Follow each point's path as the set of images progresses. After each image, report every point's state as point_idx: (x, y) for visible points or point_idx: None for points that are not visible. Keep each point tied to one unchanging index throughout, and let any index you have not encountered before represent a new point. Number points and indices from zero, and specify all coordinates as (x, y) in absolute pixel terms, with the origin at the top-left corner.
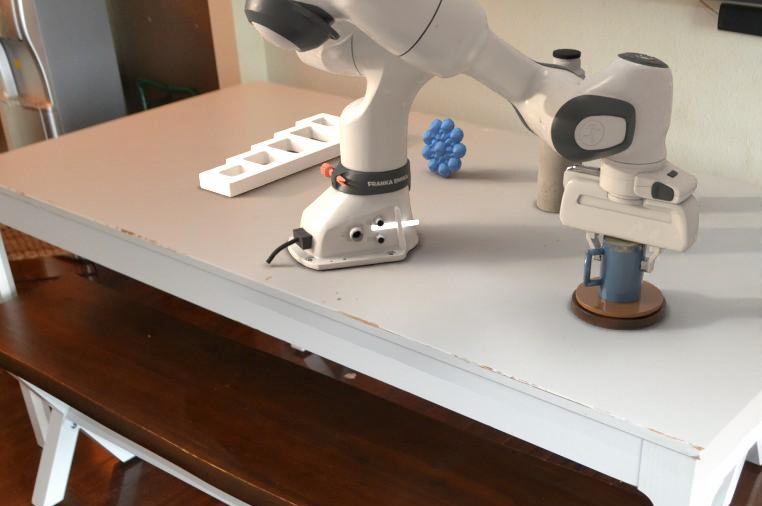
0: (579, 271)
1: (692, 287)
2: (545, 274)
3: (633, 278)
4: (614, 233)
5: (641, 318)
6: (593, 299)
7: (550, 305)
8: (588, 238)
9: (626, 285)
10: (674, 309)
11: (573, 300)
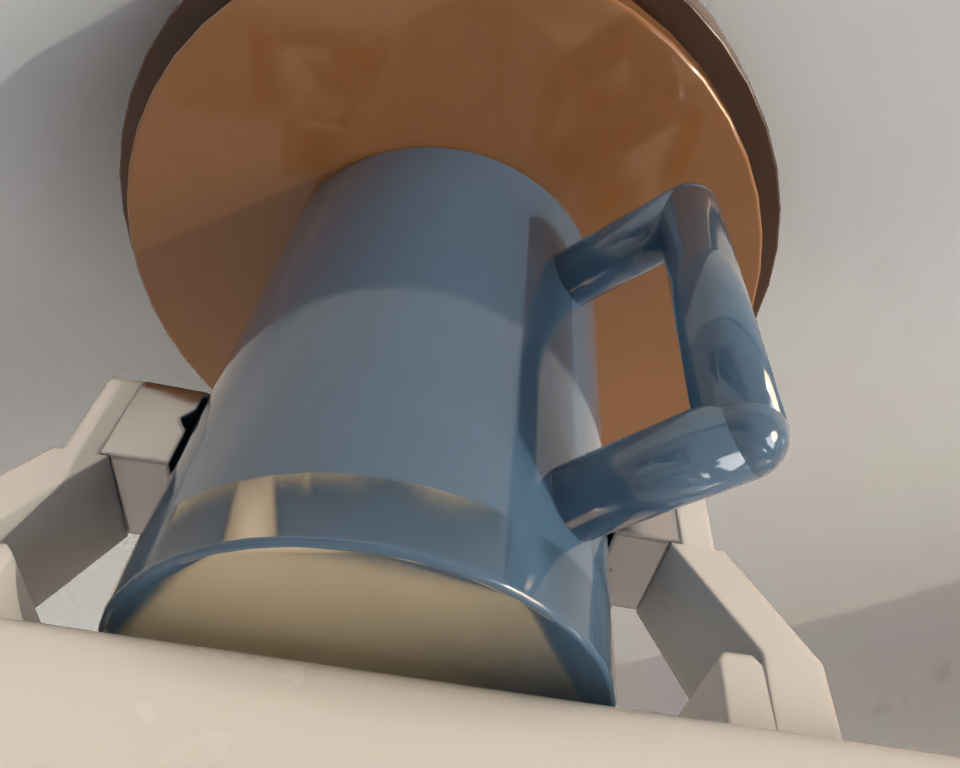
0: (755, 531)
1: None
2: (952, 467)
3: (257, 310)
4: (436, 734)
5: (180, 35)
6: (599, 139)
7: (929, 106)
8: (786, 652)
9: (315, 243)
10: (156, 321)
11: (763, 134)
